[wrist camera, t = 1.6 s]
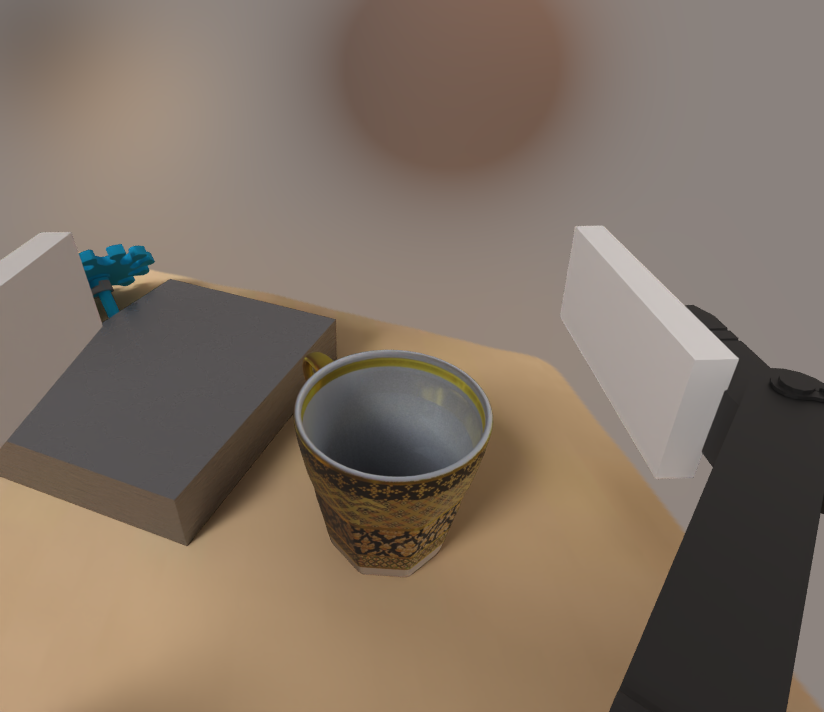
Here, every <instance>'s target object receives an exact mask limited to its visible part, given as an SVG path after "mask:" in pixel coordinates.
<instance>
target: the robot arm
mask: <svg viewBox="0 0 824 712" xmlns="http://www.w3.org/2000/svg"><path fill="white" fill-rule="evenodd" d="M560 318H561V320H562V321H563V323H564V325H565V326H566V328H567V330H568V331H569V333H570V335H571V337H572V338H573V340H574V342H575V343H576V345H577V347H578V348H579V350H580V352H581V353H582V355H583V357H584V358H585V360H586V362H587V364H588V365H589V367H590V369H591V371H592V372H593V374H594V376H595V377H596V379H597V381H598V383H599V384H600V386H601V388H602V389H603V391H604V393H605V394H606V396H607V398H608V400H609V401H610V403H611V405H612V406H613V408H614V410H615V411H616V413H617V415H618V417H619V418H620V420H621V422H622V423H623V425H624V427H625V428H626V430H627V432H628V433H629V435H630V437H631V439H632V440H633V442H634V443H635V445H636V447H637V449H638V451H639V452H640V454H641V456H642V457H643V459H644V460H645V462H646V464H647V466H648V467H649V469H650V471H651V473H652V474H653V476H654V478H655V479H669V478H694V475H695V473H696V470H697V467H698V465H699V462H700V460H701V457H702V454H704V456H705V457H706V458H707V460H708V461H709V463H710V464H711V465H712V467H713V469H712V471H711V474H710V476H709V478H708V481H707V483H706V486H705V488H704V490H703V493H702V495H701V497H700V500H699V502H698V505H697V507H696V509H695V512H694V514H693V516H692V519H691V521H690V524H689V526H688V528H687V530H686V533H685V535H684V538H683V540H682V542H681V545H680V547H679V549H678V552H677V554H676V556H675V559H674V561H673V564H672V566H671V568H670V571H669V573H668V575H667V578H666V580H665V583H664V585H663V587H662V590H661V592H660V594H659V597H658V599H657V601H656V604H655V606H654V609H653V611H652V613H651V616H650V618H649V620H648V623H647V625H646V627H645V630H644V632H643V635H642V637H641V639H640V642H639V644H638V646H637V649H636V651H635V653H634V656H633V658H632V661H631V663H630V665H629V668H628V670H627V672H626V675H625V677H624V679H623V682H622V684H621V686H620V689H619V690H618V692H617V694H616V697H615V699H614V701H613V704H612V706H611V708H610V711H609V712H786V709H787V704H788V698H789V692H790V686H791V680H792V675H793V669H794V663H795V657H796V651H797V646H798V640H799V634H800V628H801V622H802V617H803V611H804V605H805V599H806V594H807V588H808V582H809V576H810V570H811V564H812V559H813V553H814V547H815V541H816V535H817V530H818V524H819V518H820V513H822V514H824V383H822V382H820V381H819V380H817V379H815V378H813V377H810V376H808V375H805V374H803V373H800V372H796V371H791V370H787V369H777V368H770V367H769V366H767V364H766V363H764V362H763V361H762V360H761V359H760V358H759V357H758V356H757V355H756V354H755V353H754V352H752V350H750V349H749V348H748V347H747V346H746V345H745V344H744V343H743V342H742V341H738V338H737V337H736V336H735V335H734V334H733V333H732V332H731V331H727V327H725V326H724V325H723V324H722V323H721V322H720V321H719V320H718V319H717V318H716V317H715V316H713V315H712V314H710V313H708V312H706V311H704V310H701V309H700V308H698V307H696V306H694V305H683V304H682V303H681V302H680V301H679V300H678V299H677V298H676V297H675V296H674V295H673V294H672V293H671V292H670V291H669V290H668V289H667V288H666V287H665V286H664V285H663V284H662V283H661V282H660V281H659V280H658V279H657V278H656V277H655V276H654V275H653V274H652V273H651V272H650V271H649V270H648V269H646V267H645V266H644V265H643V264H641V262H640V261H639V260H638V259H636V257H634V256H633V255H632V254H631V253H630V252H629V251H628V250H627V249H626V248H625V247H624V246H623V245H622V244H621V243H620V242H619V241H618V240H617V239H616V238H615V237H614V236H613V235H612V234H611V233H610V232H609V231H608V230H607V229H606V228H605V227H604V226H575V231H574V236H573V242H572V248H571V254H570V260H569V265H568V271H567V278H566V284H565V290H564V295H563V301H562V307H561V312H560ZM102 326H103V325H102V322H101V319H100V316H99V313H98V310H97V307H96V304H95V301H94V298H93V295H92V292H91V289H90V286H89V283H88V280H87V277H86V274H85V271H84V268H83V265H82V262H81V259H80V256H79V253H78V250H77V247H76V244H75V241H74V238H73V235H72V232H47V233H46V232H41V233H39V234H38V235H36V236H35V237H34V238H32V239H31V240H29V241H28V242H26V243H25V244H23V245H22V246H20V247H19V248H18V249H16V250H15V251H13V252H12V253H10V254H9V255H7V256H6V257H5V258H3V259H2V260H0V448H1V447H2V446H3V445H4V443H5V442H6V441H7V440H8V439H9V437H10V436H11V435H12V434H13V433H14V431H15V430H16V429H17V428H18V427H19V425H20V424H21V423H22V422H23V421H24V419H25V418H26V417H27V416H28V415H29V413H30V412H31V411H32V410H33V409H34V408H35V406H36V405H37V404H38V403H39V402H40V400H41V399H42V398H43V397H44V396H45V394H46V393H47V392H48V391H49V390H50V388H51V387H52V386H53V385H54V384H55V382H56V381H57V380H58V379H59V378H60V376H61V375H62V374H63V373H64V372H65V371H66V369H67V368H68V367H69V366H70V365H71V363H72V362H73V361H74V360H75V359H76V357H77V356H78V355H79V354H80V353H81V351H82V350H83V349H84V348H85V347H86V345H87V344H88V343H89V342H90V341H91V339H92V338H93V337H94V336H95V335H96V334H97V332H98V331H99V330H100V329H101V328H102Z"/></svg>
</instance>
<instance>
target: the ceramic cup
mask: <svg viewBox="0 0 824 712" xmlns="http://www.w3.org/2000/svg"><path fill="white" fill-rule="evenodd" d="M302 368H303V374H304V377H305V380H306V383H305V384H304V385H303V386H302V388H301V390H300V391H299V393H298V395H297V398H296V401H295V405H294V413H293V417H294V425H295V430H296V435H297V439H298V444H299V447H300V450H301V454H302V457H303V460H304V463H305V466H306V469H307V472H308V475H309V477H310V479H311V481H312V484H313V486H314V488H315V492H316V496H317V500H318V503H319V506H320V509H321V511H322V514H323V517H324V520H325V524H326V527H327V531H328V533H329V536H330V539H331V541H332V543H333V544H334V546H335V547H336V548H337V549H338V550H339V551H340V552H341V553H342V554H343V555H344V556H345V558H346V559H347V560H348V561H349V562H350V563H351V564H352V565H353V566H354V567H355V568H356V569H357V570H358V571H359V572H360V573H362V574H367V575H382V576H398V577H408V576H410V575H411V574H412V573H414V572H415V571H416V570H417V569H419V568H420V567H421V566H422V565H424V564H425V563H426V562H427V561H429V560H430V559H431V558H432V557H433V556H435V555H436V554H437V552H438V551H439V550H440V548H441V546H442V544H443V542H444V540H445V538H446V535H447V533H448V530H449V528H450V526H451V524H452V522H453V520H454V517H455V515H456V513H457V511H458V509H459V506H460V504H461V501H462V499H463V496H464V495H465V493H466V491H467V490H468V488H469V486H470V484H471V482H472V480H473V478H474V476H475V474H476V472H477V469H478V467H479V465H480V462H481V460H482V458H483V455H484V453H485V450H486V447H487V444H488V441H489V438H490V435H491V431H492V426H493V415H492V409H491V405H490V403H489V400H488V398H487V396H486V394H485V393H484V391H483V390H482V388H481V387H480V386H479V385H478V384H477V382H476V381H475V380H474V379H472V378H471V377H470V376H469V375H468V374H467V373H465V372H464V371H462V370H461V369H459V368H457V367H456V366H454V365H452V364H450V363H448V362H446V361H443V360H441V359H438V358H436V357H433V356H429V355H425V354H422V353H416V352H411V351H402V350H376V351H367V352H362V353H357V354H353V355H349V356H346V357H343V358H340V359H338V360H336V361H333V360H332V359H331V358H330V357H328V356H327V355H325V354H323V353H321V352H312V353H309V354H307V355H306V356H305V357H304V359H303V364H302ZM313 368H314V370H315V371H316V373H315V374H314V372H313Z"/></svg>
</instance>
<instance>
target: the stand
mask: <svg viewBox="0 0 824 712" xmlns="http://www.w3.org/2000/svg"><path fill="white" fill-rule="evenodd" d="M102 325H103V326H102V328H101V329H100V330H99V331H98V332H97V334H96V335H95V336H94V337H93V338H92V339H91V341H90V342H89V343H88V344H87V345H86V347H85V348H84V349H83V350H82V351H81V353H80V354H79V355H78V356H77V357H76V359H75V360H74V361H73V362H72V363H71V365H70V366H69V367H68V368H67V369H66V371H65V372H64V373H63V374H62V375H61V376H60V378H59V379H58V380H57V381H56V382H55V384H54V385H53V386H52V387H51V388H50V390H49V391H48V392H47V393H46V394H45V396H44V397H43V398H42V399H41V400H40V402H39V403H38V404H37V405H36V406H35V408H34V409H33V410H32V411H31V412H30V413H29V415H28V416H27V417H26V418H25V419H24V421H23V422H22V423H21V424H20V425H19V427H18V428H17V429H16V430H15V431H14V433H13V434H12V435H11V436H10V437H9V439H8V440H7V441H6V442H5V443H4V445H3V446H2V447H1V448H0V477H3V478H6V479H8V480H11V481H14V482H17V483H19V484H22V485H25V486H27V487H30V488H33V489H35V490H38V491H41V492H43V493H46V494H49V495H51V496H54V497H57V498H60V499H62V500H65V501H68V502H70V503H73V504H76V505H78V506H81V507H84V508H86V509H89V510H92V511H94V512H97V513H100V514H103V515H105V516H108V517H111V518H113V519H116V520H119V521H121V522H124V523H127V524H129V525H132V526H135V527H137V528H140V529H143V530H146V531H148V532H151V533H154V534H156V535H159V536H162V537H164V538H167V539H170V540H172V541H175V542H178V543H180V544H183V545H186V546H187V545H188V544H189V543H190V542H191V540H192V539H193V538H194V537H195V535H196V534H197V533H198V532H199V530H200V529H201V528H202V527H203V525H204V524H205V523H206V522H207V520H208V519H209V518H210V517H211V515H212V514H213V513H214V512H215V510H216V509H217V508H218V507H219V505H220V504H221V503H222V502H223V500H224V499H225V498H226V497H227V495H228V494H229V493H230V492H231V490H232V489H233V488H234V487H235V485H236V484H237V483H238V482H239V480H240V479H241V478H242V477H243V475H244V474H245V473H246V472H247V470H248V469H249V468H250V467H251V465H252V464H253V463H254V462H255V460H256V459H257V458H258V457H259V455H260V454H261V453H262V452H263V450H264V449H265V448H266V447H267V445H268V444H269V443H270V442H271V440H272V439H273V438H274V437H275V435H276V434H277V433H278V432H279V430H280V429H281V428H282V427H283V425H284V424H285V423H286V422H287V420H288V419H289V418H290V417H291V415H292V414H293V413H294V405H295V401H296V398H297V395H298V393H299V391H300V390H301V388H302V386H303V385H304V384H305V383H306V380H305V377H304V374H303V368H302V364H303V359H304V357H305V356H306V355H307V354H309V353H312V352H321V353H323V354H325V355H327V356H328V357H330V358H331V359H332V360H333V361H335V360H336V359H337V356H336V319H332V318H328V317H324V316H320V315H316V314H312V313H307V312H303V311H299V310H295V309H291V308H287V307H283V306H279V305H275V304H271V303H266V302H262V301H258V300H254V299H250V298H246V297H242V296H238V295H234V294H230V293H225V292H221V291H217V290H213V289H209V288H205V287H201V286H197V285H193V284H189V283H185V282H180V281H176V280H172V279H169V280H168V281H166V282H165V283H163V284H162V285H160V286H159V287H157V288H155V289H154V290H152V291H151V292H149V293H148V294H146V295H145V296H143V297H141V298H140V299H138V300H137V301H135V302H134V303H132V304H131V305H129V306H127V307H126V308H124V309H123V310H121V311H120V312H118V313H117V314H115V315H113V316H112V317H110V318H109V319H107V320H106V321H104V322H103V323H102ZM313 372H314V374H315V373H316V371H315V370H314V368H313Z"/></svg>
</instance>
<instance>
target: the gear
mask: <svg viewBox="0 0 824 712" xmlns="http://www.w3.org/2000/svg"><path fill="white" fill-rule="evenodd" d="M106 251H107V253H108V256H105V257H99V256H95V255H94V253H93V251H92V250H86V251H83V252H81V253H79V256H80V259H81V262H82V265H83V268H84V271H85V274H86V277H87V280H88V283H89V286H90V289H91V292H92V295H93V298H94V299H97V298H100V300H101V302H102V304H103V307H104V309H105V311H106V313H107V315H108V317H109V318H110V317H112V316H113V315H115V314H117V313H118V312H120V311H119V309H118V307H117V305H116V302H115V300H114V298H113V296H112V294H111V293H112V292H113V291H114V289H113V287H112V286H113V285H121V286H128V285H130V284H131V283H133V282H134V281H135V279H134V277H133V276H138V275H145V274H147V273H148V272H149V268H148V266H147V265H151V264H153V263H154V262H155V261H154V259H153V257H152V255H151V253H149V252H146V250H145V248H144V246H133V247H131V248H129V253H128V254H126V252H125V250H124V248H123V246H122V244H118V245H113V246H109V247H107V248H106Z"/></svg>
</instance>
